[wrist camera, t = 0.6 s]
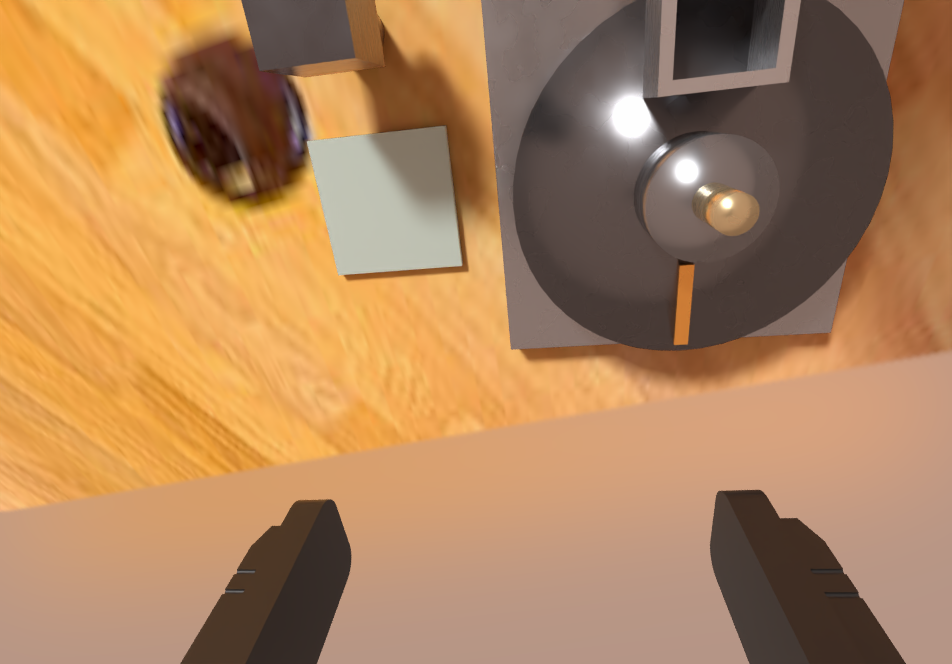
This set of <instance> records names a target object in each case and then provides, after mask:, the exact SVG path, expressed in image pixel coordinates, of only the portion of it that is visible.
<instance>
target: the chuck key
mask: <svg viewBox="0 0 952 664" xmlns="http://www.w3.org/2000/svg"><path fill="white" fill-rule="evenodd" d="M242 4H243V8H244V12H245V16H246V20H247V24H248V28H249V31H250V35H251V39H252V43H253V47H254V51H255V55H256V58H257V62H258V66H259V70H260V71H263V72H270V73H278V74H285V75H293V76H300V77H311V76H319V75H326V74H334V73H341V72H349V71H356V70H364V69H371V68H379V67H385V61H384V55H383V48H382V46H383V43H384V28H383V25H382V22H381V20H380V18H379V16H378V15H377V11H376V5H375V0H242Z"/></svg>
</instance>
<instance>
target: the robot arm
mask: <svg viewBox="0 0 952 664" xmlns="http://www.w3.org/2000/svg"><path fill="white" fill-rule="evenodd" d="M710 553H711V560H712V565H713V570H714V573H715V576H716V579H717V582H718V584H719V587H720V589H721V592H722V594H723V597H724V600H725V602H726V605H727V607H728V610H729V612H730V615H731V617H732V620H733V623H734V625H735V628H736V630H737V633H738V635H739V638H740V640H741V643H742V645H743V648H744V651H745V653H746V656H747V658H748V661H749V663H750V664H906V663H905V662H904V660H903V659H902V657H901V656H900V654H899V653H898V651H897V649H896V648H895V647H894V645H893V643H892V642H891V640H890V639H889V637H888V636H887V634H886V633H885V631H884V630H883V628H882V627H881V625H880V624H879V622H878V621H877V619H876V618H875V616H874V615H873V613H872V612H871V610H870V609H869V608H868V606H867V604H866V603H865V601H864V600H863V599H862V598H860V597H859V595H858V591H857V589H856V588H855V587H854V585H853V583H852V582H851V580H850V579H849V578H848V576H847V575H846V574H844V573H843V568H842V567H841V565H840V564H839V562H838V561H837V559H836V558H835V556H834V555H833V553H832V552H831V550H830V549H829V547H828V546H827V544H826V543H825V541H824V540H822V539H821V538H820V537H819V536H818V535H817V534H815V533H814V532H813V531H812V530H811V529H809V528H808V527H807V526H806V525H804V524H803V523H802V522H801V521H800V520H798V519H797V518H781V519H780V518H779V516H778V514H777V513H776V511H775V509H774V508H773V506H772V504H771V503H770V501H769V499H768V498H767V496H766V495H765V494H764V493H763V492H762V491H761V490H738V491H737V490H736V491H719V492H718V493H717V495H716V501H715V509H714V517H713V525H712V533H711V541H710ZM350 567H351V549H350V544H349V542H348V539H347V536H346V533H345V530H344V527H343V524H342V521H341V518H340V515H339V512H338V510H337V507H336V504H335V502H334V501H333V500H298V501H296V502H295V503H294V504H293V505H292V507H291V508H290V510H289V512H288V514H287V516H286V517H285V519H284V521H283V523H282V524H281V526H272V527H271V528H269V529H268V530H267V531H266V532H265V533H264V534H263V535H262V536H261V537H260V538H259V539H258V540H257V541H256V542H255V543H254V544H253V545H252V546H251V547H250V549H249V551H248V553H247V554H246V556H245V557H244V559H243V561H242V562H241V564H240V566H239V567H238V569H237V574H235V575H234V576H233V577H232V579H231V580H230V582H229V584H228V586H227V587H226V589H225V590H226V591H225V594H222V595H221V597H220V599H219V600H218V602H217V604H216V606H215V607H214V609H213V610H212V612H211V614H210V616H209V617H208V619H207V620H206V622H205V624H204V626H203V627H202V629H201V630H200V632H199V634H198V635H197V637H196V639H195V640H194V642H193V644H192V645H191V647H190V649H189V650H188V652H187V654H186V655H185V657H184V659H183V660H182V662H181V664H317V662H318V659H319V656H320V653H321V651H322V648H323V645H324V642H325V640H326V637H327V634H328V631H329V628H330V626H331V623H332V620H333V618H334V615H335V612H336V609H337V607H338V604H339V601H340V598H341V596H342V593H343V590H344V587H345V585H346V582H347V579H348V576H349V572H350Z"/></svg>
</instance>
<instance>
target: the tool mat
mask: <svg viewBox="0 0 952 664" xmlns="http://www.w3.org/2000/svg"><path fill="white" fill-rule="evenodd" d="M307 144H308V148H309V153H310V157H311V161H312V165H313V170H314V174H315V178H316V182H317V187H318V191H319V195H320V199H321V203H322V208H323V212H324V216H325V220H326V225H327V229H328V233H329V237H330V242H331V246H332V250H333V254H334V259H335V263H336V267H337V271H338V275H348V274H361V273H374V272H387V271H401V270H414V269H427V268H440V267H453V266H462V264H463V260H462V252H461V244H460V235H459V227H458V219H457V211H456V202H455V194H454V186H453V178H452V170H451V161H450V153H449V145H448V137H447V129H446V125H445V126H436V127H427V128H419V129H410V130H401V131H393V132H384V133H375V134H366V135H358V136H349V137H340V138H331V139H323V140H314V141H307Z"/></svg>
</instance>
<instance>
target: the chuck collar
mask: <svg viewBox="0 0 952 664" xmlns="http://www.w3.org/2000/svg"><path fill="white" fill-rule="evenodd" d="M892 148H893V115H892V106H891V97H890V93H889V90H888V86H887V82H886V79H885V75H884V72H883V69H882V67H881V65H880V63H879V61H878V59H877V57H876V54H875V52H874V50H873V48H872V47H871V45H870V44H869V42H868V41H867V40H866V38H865V37H864V35H863V34H862V32H861V31H860V30H859V28H858V27H857V26H856V25H855V24H854V23H853V22H852V21H851V20H850V19H849V18H848V17H847V16H846V15H845V14H844V13H843V12H842V11H841V10H840V9H839V8H837V7H836V6H834V5H833V4H831V3H830V2H829V1H827V0H636V1H634V2H632V3H630V4H629V5H627V6H625V7H623V8H622V9H621V10H619V11H618V12H616V13H615V14H613V15H612V16H611V17H609V18H608V19H606V20H605V21H603V22H602V23H601V24H599V25H598V26H597V27H596V28H595V29H594V30H593V31H592V32H591V33H589V34H588V35H587V36H586V37H585V38H584V39H583V40H582V41H581V42H579V43H578V45H577V46H576V47H575V48H574V49H573V50H572V51H571V53H570V54H569V55H568V56H567V57H566V58H565V59H564V61H563V62H562V63H561V64H560V65H559V66H558V67H557V69H556V70H555V71H554V73H553V74H552V76H551V77H550V79H549V80H548V82H547V83H546V85H545V86H544V88H543V89H542V91H541V93H540V94H539V96H538V98H537V100H536V102H535V104H534V106H533V108H532V110H531V112H530V114H529V117H528V120H527V122H526V125H525V128H524V130H523V133H522V136H521V140H520V144H519V149H518V153H517V157H516V164H515V172H514V181H513V210H514V218H515V225H516V231H517V235H518V238H519V242H520V245H521V249H522V252H523V254H524V257H525V259H526V261H527V264H528V266H529V268H530V270H531V272H532V274H533V275H534V277H535V279H536V280H537V282H538V284H539V285H540V287H541V288H542V289H543V291H544V292H545V293H546V294H547V296H548V297H549V298H550V299H551V300H552V302H553V303H554V304H555V305H556V306H557V307H558V308H560V309H561V310H562V311H563V312H564V313H565V314H566V315H567V316H568V317H570V318H571V319H573V320H574V321H575V322H577V323H578V324H580V325H581V326H582V327H584V328H586V329H588V330H590V331H591V332H593V333H595V334H597V335H599V336H601V337H604V338H606V339H609V340H612V341H614V342H617V343H620V344H624V345H628V346H632V347H636V348H643V349H651V350H689V349H698V348H704V347H709V346H713V345H718V344H722V343H726V342H729V341H732V340H735V339H738V338H741V337H744V336H746V335H748V334H751V333H753V332H755V331H757V330H759V329H762V328H764V327H766V326H768V325H769V324H771V323H773V322H775V321H776V320H778V319H780V318H782V317H783V316H785V315H787V314H788V313H789V312H791V311H792V310H794V309H795V308H796V307H798V306H799V305H801V304H802V303H803V302H805V301H806V300H807V299H808V298H809V297H811V296H812V295H813V294H814V293H815V292H816V291H817V290H819V289H820V288H821V287H822V286H823V285H824V284H825V283H826V282H827V281H828V280H829V279H830V278H831V277H832V276H833V274H834V273H835V272H836V271H837V270H838V269H839V268H840V267H841V266H842V264H843V263H844V262H845V260H846V259H847V258H848V256H849V255H850V254H851V252H852V251H853V250H854V248H855V247H856V246H857V244H858V242H859V241H860V239H861V237H862V235H863V234H864V232H865V230H866V229H867V227H868V225H869V224H870V221H871V219H872V217H873V215H874V212H875V210H876V208H877V206H878V203H879V201H880V199H881V196H882V192H883V189H884V186H885V183H886V179H887V176H888V172H889V166H890V160H891V154H892Z"/></svg>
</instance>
